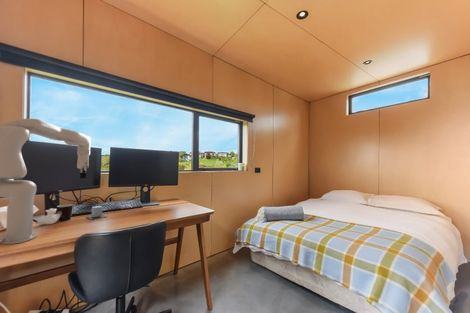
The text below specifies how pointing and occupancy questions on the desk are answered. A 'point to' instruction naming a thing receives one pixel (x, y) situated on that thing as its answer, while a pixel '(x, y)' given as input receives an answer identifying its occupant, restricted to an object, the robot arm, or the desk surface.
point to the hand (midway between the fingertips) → (82, 178)
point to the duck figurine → (49, 217)
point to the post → (96, 217)
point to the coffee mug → (64, 211)
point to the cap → (97, 211)
